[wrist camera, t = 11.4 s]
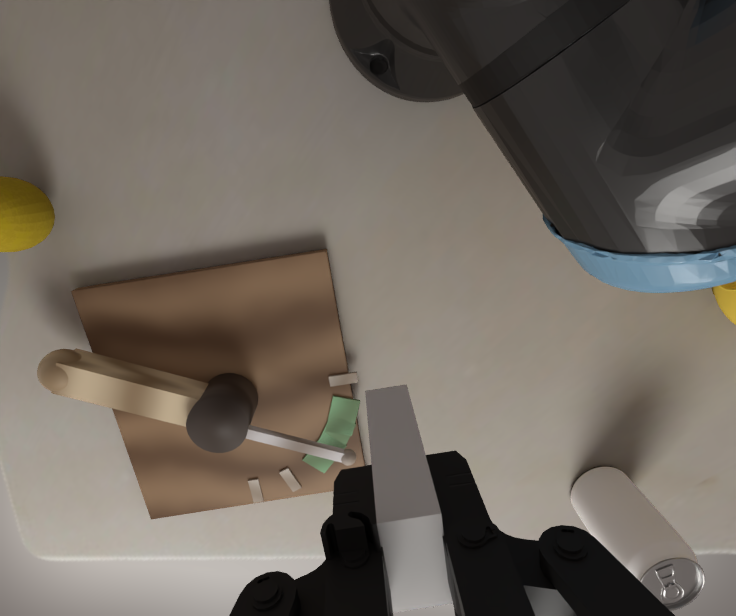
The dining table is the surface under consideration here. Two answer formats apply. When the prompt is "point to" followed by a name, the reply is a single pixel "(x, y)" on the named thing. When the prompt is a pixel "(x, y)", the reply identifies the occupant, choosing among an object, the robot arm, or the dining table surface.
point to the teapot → (726, 299)
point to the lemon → (23, 215)
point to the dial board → (239, 356)
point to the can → (638, 535)
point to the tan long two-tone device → (174, 401)
